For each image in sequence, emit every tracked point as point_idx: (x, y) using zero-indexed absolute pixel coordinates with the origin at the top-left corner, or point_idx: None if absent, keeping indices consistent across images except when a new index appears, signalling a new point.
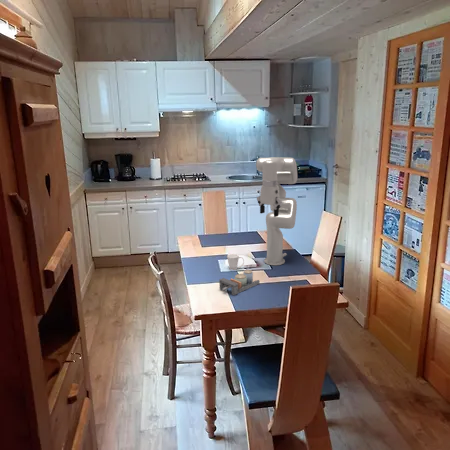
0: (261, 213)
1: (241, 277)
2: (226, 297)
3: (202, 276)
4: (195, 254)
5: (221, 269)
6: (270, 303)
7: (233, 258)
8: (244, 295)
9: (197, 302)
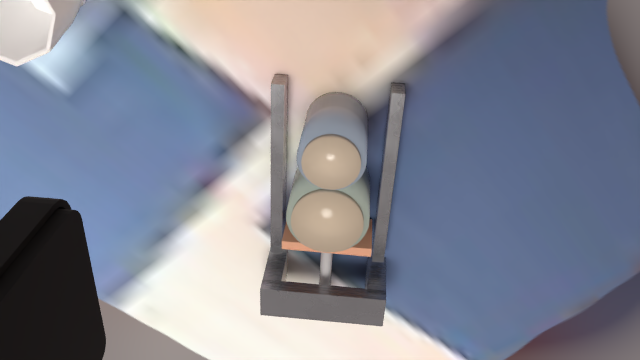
0: (93, 318)
1: (348, 237)
2: None
3: None
4: None
5: None
6: (608, 246)
7: (51, 48)
8: (428, 252)
9: None
